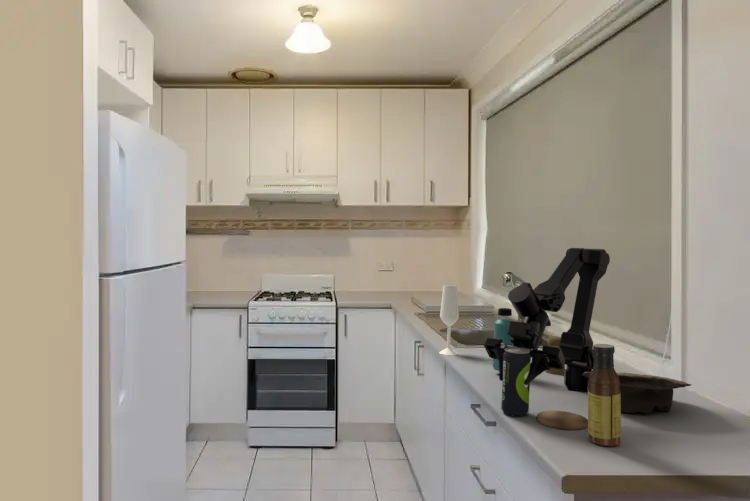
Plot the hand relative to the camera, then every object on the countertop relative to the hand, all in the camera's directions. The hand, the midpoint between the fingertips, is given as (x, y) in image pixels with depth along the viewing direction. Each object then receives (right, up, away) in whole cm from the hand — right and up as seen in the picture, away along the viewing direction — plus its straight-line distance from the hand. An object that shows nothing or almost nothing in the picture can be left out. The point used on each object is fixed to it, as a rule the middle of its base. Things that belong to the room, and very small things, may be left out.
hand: (512, 382), depth 133 cm
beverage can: (+1, -8, +1) cm, 8 cm away
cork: (+24, -7, +44) cm, 50 cm away
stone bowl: (+33, -8, +10) cm, 35 cm away
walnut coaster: (+10, -8, -4) cm, 14 cm away
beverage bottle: (+7, -7, +40) cm, 41 cm away
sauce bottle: (+14, -9, -17) cm, 24 cm away
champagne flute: (-6, -6, +69) cm, 70 cm away
